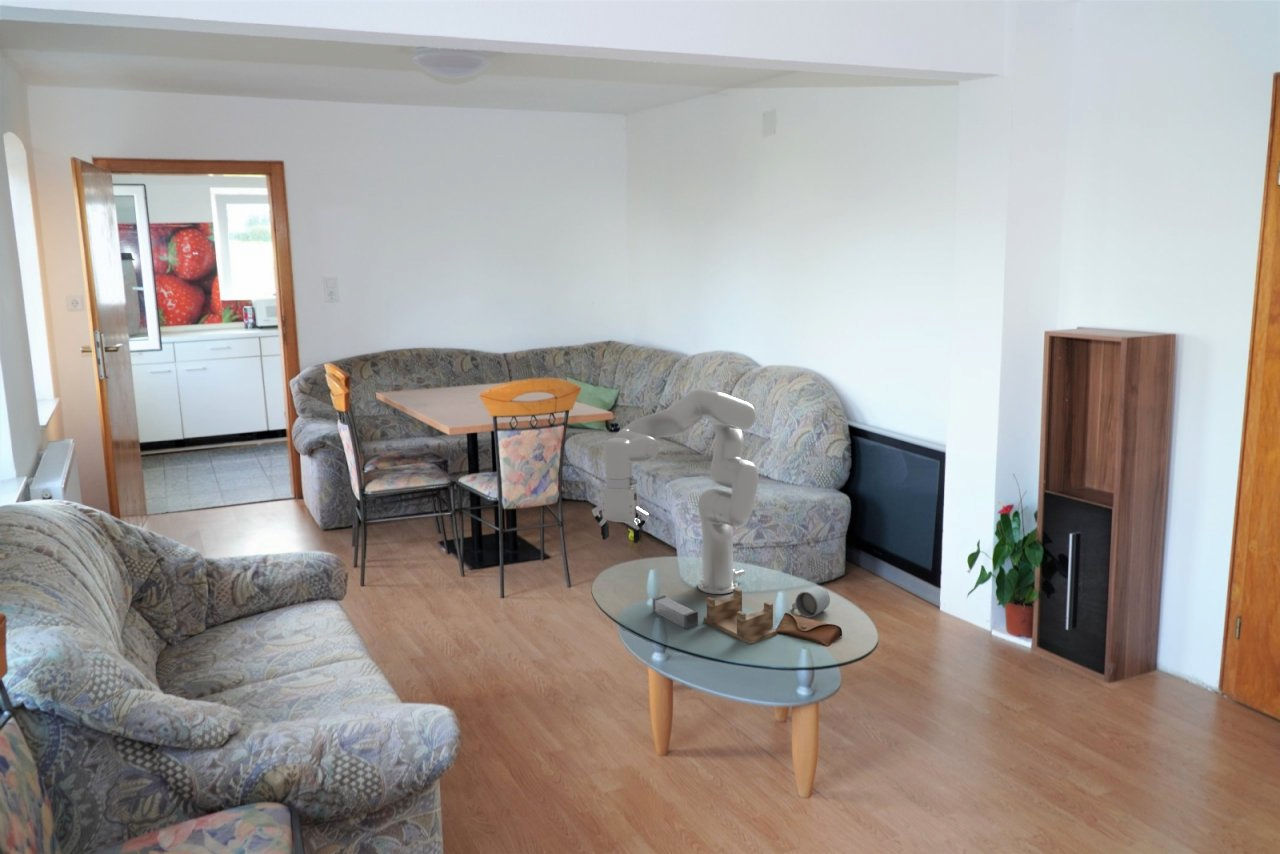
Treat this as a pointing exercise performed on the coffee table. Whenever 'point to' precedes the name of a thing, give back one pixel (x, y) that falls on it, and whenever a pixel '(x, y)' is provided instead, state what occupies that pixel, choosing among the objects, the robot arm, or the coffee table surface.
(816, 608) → the ceramic mug
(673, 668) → the coffee table surface
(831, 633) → the sunglasses case
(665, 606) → the rail
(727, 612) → the rack
